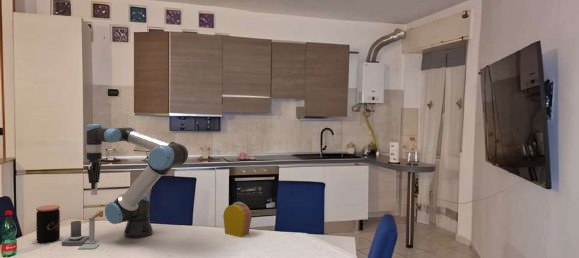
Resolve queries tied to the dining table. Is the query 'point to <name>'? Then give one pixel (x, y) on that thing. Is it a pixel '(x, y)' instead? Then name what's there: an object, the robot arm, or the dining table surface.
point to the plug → (76, 231)
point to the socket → (83, 237)
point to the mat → (88, 246)
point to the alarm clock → (237, 219)
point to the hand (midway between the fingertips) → (94, 194)
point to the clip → (96, 215)
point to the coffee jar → (48, 223)
